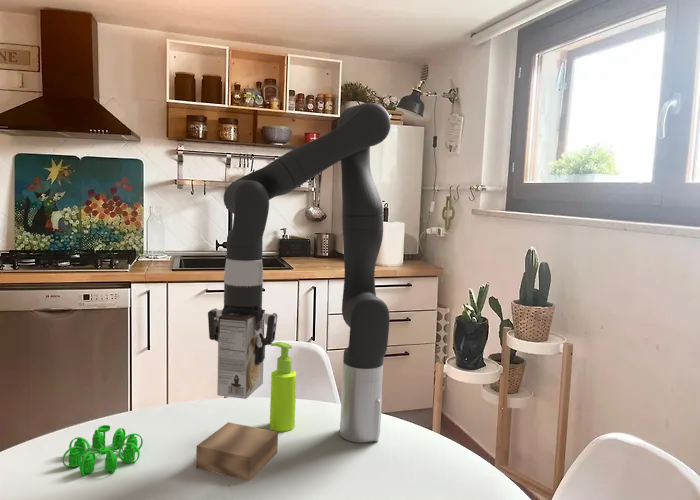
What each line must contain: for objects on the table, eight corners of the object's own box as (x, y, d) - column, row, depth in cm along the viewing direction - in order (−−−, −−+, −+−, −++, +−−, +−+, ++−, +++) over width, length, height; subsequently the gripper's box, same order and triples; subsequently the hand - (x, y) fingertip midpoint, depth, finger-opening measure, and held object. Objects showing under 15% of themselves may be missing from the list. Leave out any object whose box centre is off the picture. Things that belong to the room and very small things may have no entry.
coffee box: (235, 380, 114) (237, 306, 112) (263, 384, 113) (265, 309, 111) (216, 396, 105) (217, 315, 103) (246, 400, 104) (248, 318, 102)
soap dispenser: (278, 417, 132) (281, 338, 130) (299, 425, 128) (302, 344, 126) (261, 425, 127) (263, 343, 125) (282, 434, 123) (285, 349, 121)
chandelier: (44, 475, 102) (44, 440, 101) (92, 439, 117) (92, 409, 116) (118, 484, 100) (118, 448, 99) (157, 447, 115) (157, 416, 114)
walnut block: (277, 454, 114) (277, 432, 114) (249, 482, 103) (250, 457, 102) (227, 444, 118) (228, 422, 117) (196, 469, 106) (196, 445, 106)
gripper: (283, 280, 109) (280, 360, 111) (216, 276, 111) (214, 353, 113) (273, 286, 102) (270, 371, 104) (201, 281, 104) (199, 364, 105)
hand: (241, 362), depth 108 cm, fingers closed on coffee box, 6 cm apart
